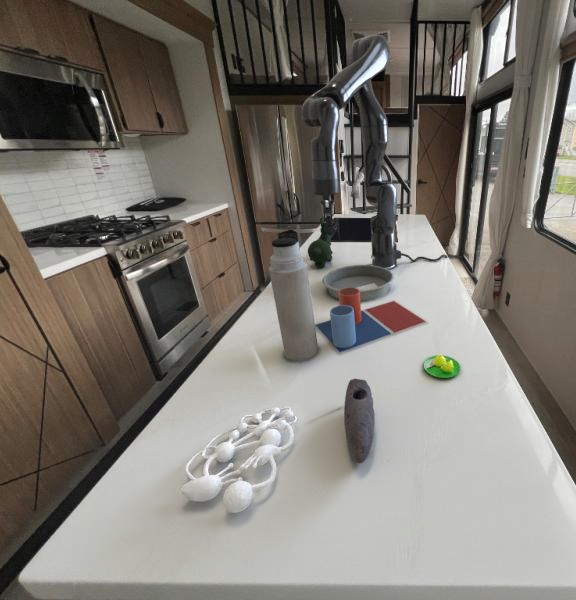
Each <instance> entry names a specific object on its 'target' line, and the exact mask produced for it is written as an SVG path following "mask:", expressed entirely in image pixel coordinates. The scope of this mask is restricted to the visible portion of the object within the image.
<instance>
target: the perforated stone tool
mask: <svg viewBox="0 0 576 600" xmlns="http://www.w3.org/2000/svg"><path fill="white" fill-rule="evenodd" d="M345 391H346V393H345V397H344V409H343V420H344V422H343V423H344V430H345V436H346V437H345V438H346V441H347V446H348V449H349V452H350V454H351V456H352V458H353V460H355V462H356V463H357V464H359V465H361V464H363V463H364V462H365V461H366V460H367V458H368V456H369V454H370V451H371V448H372V446H373V440H374V435H375V409H374V398H373V394H372V390H371V386H370V385H369V383H368V382H367V380H366V379H360V378H353V379H349V381H348V383H347V386H346V390H345Z"/></svg>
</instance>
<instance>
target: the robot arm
mask: <svg viewBox="0 0 576 600" xmlns="http://www.w3.org/2000/svg"><path fill="white" fill-rule="evenodd" d="M390 49H391V48H390V45H389V42H388V40H387V38H386V37H385V36H384V35H381V34H373V35H368V36H364V37H361V38H358V39H355V40H354V41H353V43H352V45H351V54H350V55H351V64H350V65H348V66H345V67H344V68H342V69H341V70H340V71H339V72H337V73H336V74H335V75H334V76H333V77H332V78H331V79H330V80H329V82H328V83H327V84H325V86H324V87H322V88H321V89H319V90H317V91H315V92H314V93H313V94H311V95H310V96H308V97H307V98H306V99H305V101H304V102H303V103H302V106H301V111H300V112H301V113H300V115H301V119H302V121H303V123H304V124H305V125H306V126H308V127H309V128H312V129H319V133H318V135H317V136H316V137H314V138H312V139H311V140H310V143H309V147H310V156H311V177H312V179H311V180H312V189H313V194H314V195H316V196H322V199H320V208H321V215H322V217H324V223H325V231H326V235H331V236H333V235H334V227H333V226H334V225H333V223H334V218H333V217H334V215H335V214H334V213H335V212H334V207H335V201H334V199H332V196H335V195H338V194H339V193H340V186H339V170H338V164H337V163H338V162H337V152H336V143H337V139H338V131H339V126H340V117H341V116H340V115H341V113H340V111H341V110H342V109H343V108H345V106H346V105H347V104H348V103H349V102H350V101H351V100H352V98H353V97H354V96H355V95H357V101H358V109H359V110H358V111H359V118H360V120H359V121H360V131H361V132H360V133H361V141H362V151H363V164H364V195H365V199H366V201H367V203H368V204H369V205H371V206H374V207H377V208H376V214H375V215H373V216H371V217H370V243H371V255H370V258H371V265H373V266H379V267H383V268H386V269H388V270H392V269H395V267H397V266H398V265H397V264H398V263H397V262H398V261H397V260H400V259H402V256H403V257H405V258H408V260H410V261H411V262H412V263H416V262H417V261H418V260H426V261H429V262H438V261H440V260H441V259H442V258H448V255H447V254H444V253H443V254H441V255H440V256H439V257H438V258H429V257H426V256H417V257H416V258H415V259H413V258H412V257H411V256H410V255H409V254H406V253H402V251H401V250H398V248H397V247H398V246H397V243H396V242H395V221H396V217H397V207H398V203H397V202H398V194H397V193H398V192H397V188H396V185H395V184H394V183H393V182H391V181H387V180H386V181H385V180H383V178H382V177H383V176H382V165H383V164H382V163H383V159H384V157H385V155H386V151H387V149H388V145H389V126H388V123H389V122H388V118H387V115H386V113H385V111H384V109H383V108H382V106H381V104H380V102H379V101H378V99H377V96H376V95H375V91H374V89H373V85H372V84H373V83H372V79H373V78H374V77H376V76H377V75H378V74H380V73H381V72H383V71H384V70H386V68H387V67H388V65H389V63H390V59H391V50H390Z"/></svg>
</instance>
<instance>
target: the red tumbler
mask: <svg viewBox="0 0 576 600" xmlns="http://www.w3.org/2000/svg"><path fill="white" fill-rule="evenodd" d="M338 303H339V306H340V305H347V306H351V307H353V309H354V318H355V325H356V324H358V323H360V322H361V311H362V307H361V306H362V305H361V304H362V303H361V301H360V289H359V288H358V287H357V288H352V287H350V288H344V289H341V290H340V291H339V299H338Z"/></svg>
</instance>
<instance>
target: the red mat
mask: <svg viewBox="0 0 576 600" xmlns="http://www.w3.org/2000/svg"><path fill="white" fill-rule="evenodd" d="M365 311H366V312H367V313H368V314H370V315H371V316H372V317H374V318H375V319H376V320H377V321H379V322H380V323H381V324H383V325H384V327H386V328H388V329H389V330H390V331H392V332H393V333H398V332H401V331H403V330H406V329H409V328H412V327H415V326H417V325H420V324H423V323H426V320H424V319H423V318H421V317H420V316H418V315H416V314H415V313H413V312H412V311H410V310H409V309H407V308H406V307H404V306H403V305H401V304H400V303H398V302H397V301H395V300H393V301H390V302H389V301H388V302H386V303H382V304H379V305H376V306H373V307H370V308H365Z"/></svg>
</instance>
